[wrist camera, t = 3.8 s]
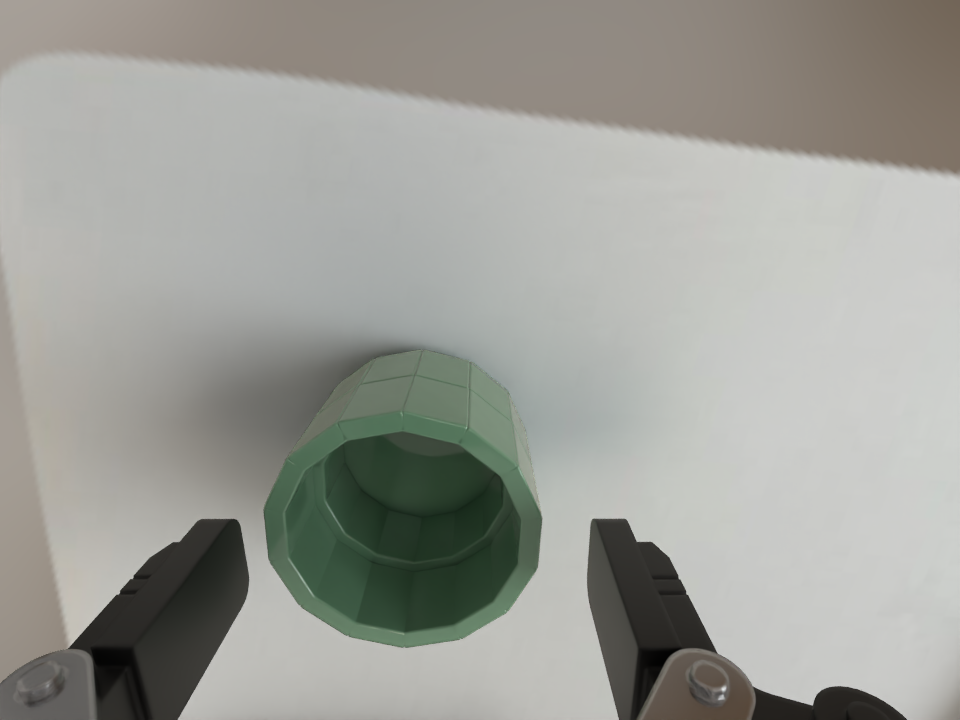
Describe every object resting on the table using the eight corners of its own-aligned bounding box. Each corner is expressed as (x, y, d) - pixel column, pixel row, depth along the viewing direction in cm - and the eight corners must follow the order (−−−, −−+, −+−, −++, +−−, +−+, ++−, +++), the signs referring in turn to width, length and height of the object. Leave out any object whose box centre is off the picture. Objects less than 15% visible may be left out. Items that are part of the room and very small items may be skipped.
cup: (293, 479, 18) (225, 589, 13) (374, 307, 16) (330, 361, 11) (465, 553, 18) (461, 682, 14) (561, 400, 17) (594, 487, 12)
